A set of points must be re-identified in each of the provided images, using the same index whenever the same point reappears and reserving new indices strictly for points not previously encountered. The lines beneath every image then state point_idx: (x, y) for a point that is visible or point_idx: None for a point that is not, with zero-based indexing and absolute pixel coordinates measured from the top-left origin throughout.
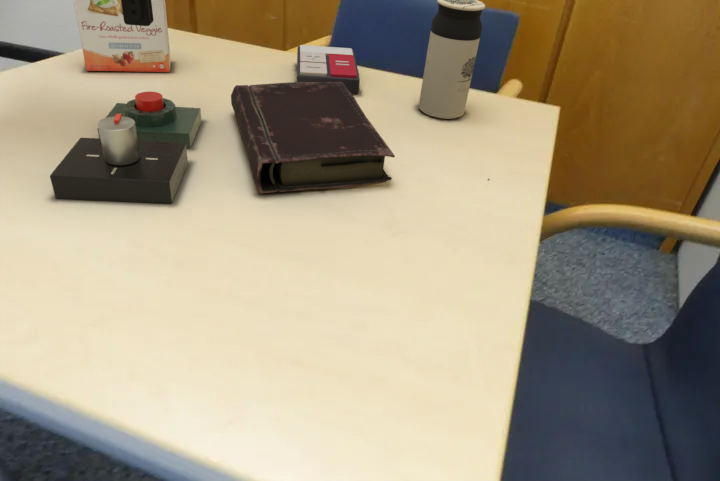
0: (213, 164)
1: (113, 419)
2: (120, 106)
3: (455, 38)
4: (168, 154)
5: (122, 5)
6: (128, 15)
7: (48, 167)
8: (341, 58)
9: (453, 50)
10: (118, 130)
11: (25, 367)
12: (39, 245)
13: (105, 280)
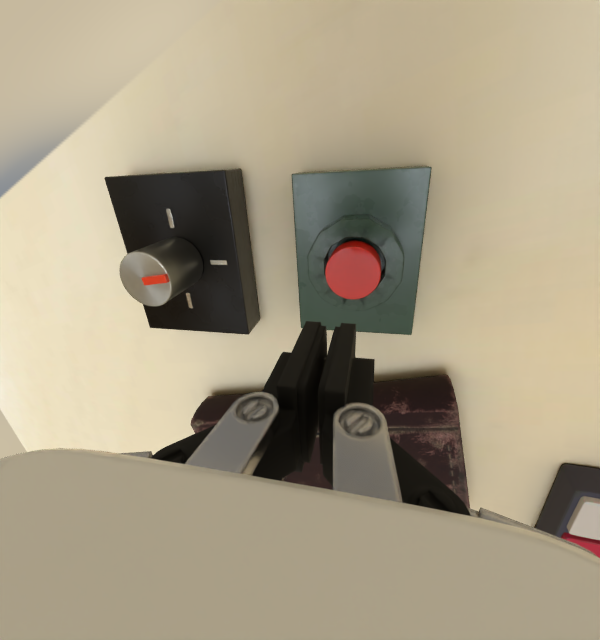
0: (266, 348)
1: None
2: (408, 182)
3: None
4: (210, 317)
5: (294, 352)
6: (281, 355)
7: (200, 118)
8: None
9: None
10: (126, 289)
11: None
12: (55, 200)
13: (46, 280)
